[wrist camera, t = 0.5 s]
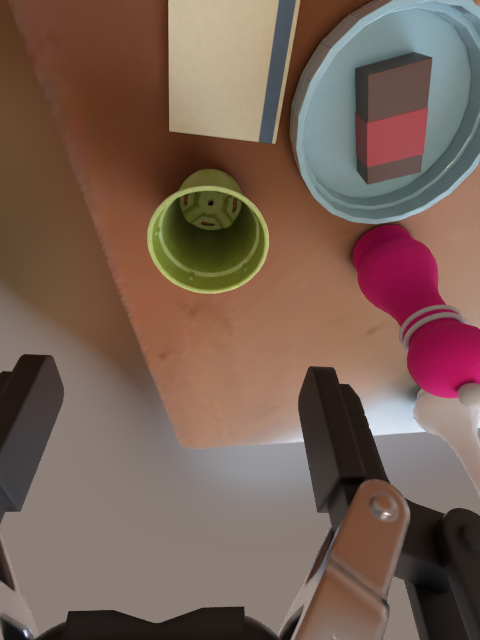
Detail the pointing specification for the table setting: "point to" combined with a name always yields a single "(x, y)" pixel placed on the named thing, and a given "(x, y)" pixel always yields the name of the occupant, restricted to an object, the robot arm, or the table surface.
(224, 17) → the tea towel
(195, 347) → the table surface
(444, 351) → the pepper mill
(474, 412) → the flower vase
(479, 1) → the pan handle
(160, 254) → the plant pot
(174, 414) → the table surface
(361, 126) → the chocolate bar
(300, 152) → the pan
